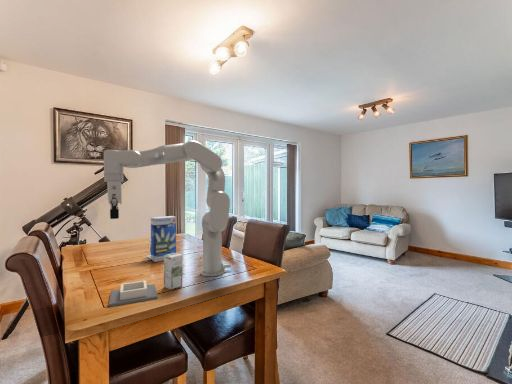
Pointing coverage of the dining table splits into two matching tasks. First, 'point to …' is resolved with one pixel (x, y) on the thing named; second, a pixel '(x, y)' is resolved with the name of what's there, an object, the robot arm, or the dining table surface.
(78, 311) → the dining table surface
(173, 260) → the syrup box
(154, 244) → the string lights box
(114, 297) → the collar holder
